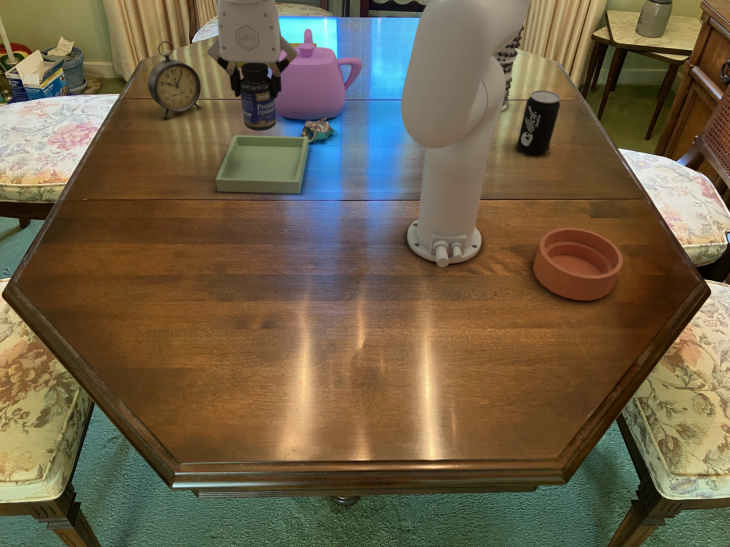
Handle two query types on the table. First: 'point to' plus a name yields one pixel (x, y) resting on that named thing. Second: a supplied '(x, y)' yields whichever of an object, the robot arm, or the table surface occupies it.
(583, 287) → the bowl
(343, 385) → the table surface
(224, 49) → the robot arm
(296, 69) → the teapot
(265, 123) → the pill bottle
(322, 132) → the ornament
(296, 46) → the flat olive board
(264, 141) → the tray
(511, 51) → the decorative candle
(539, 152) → the beverage can
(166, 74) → the alarm clock
